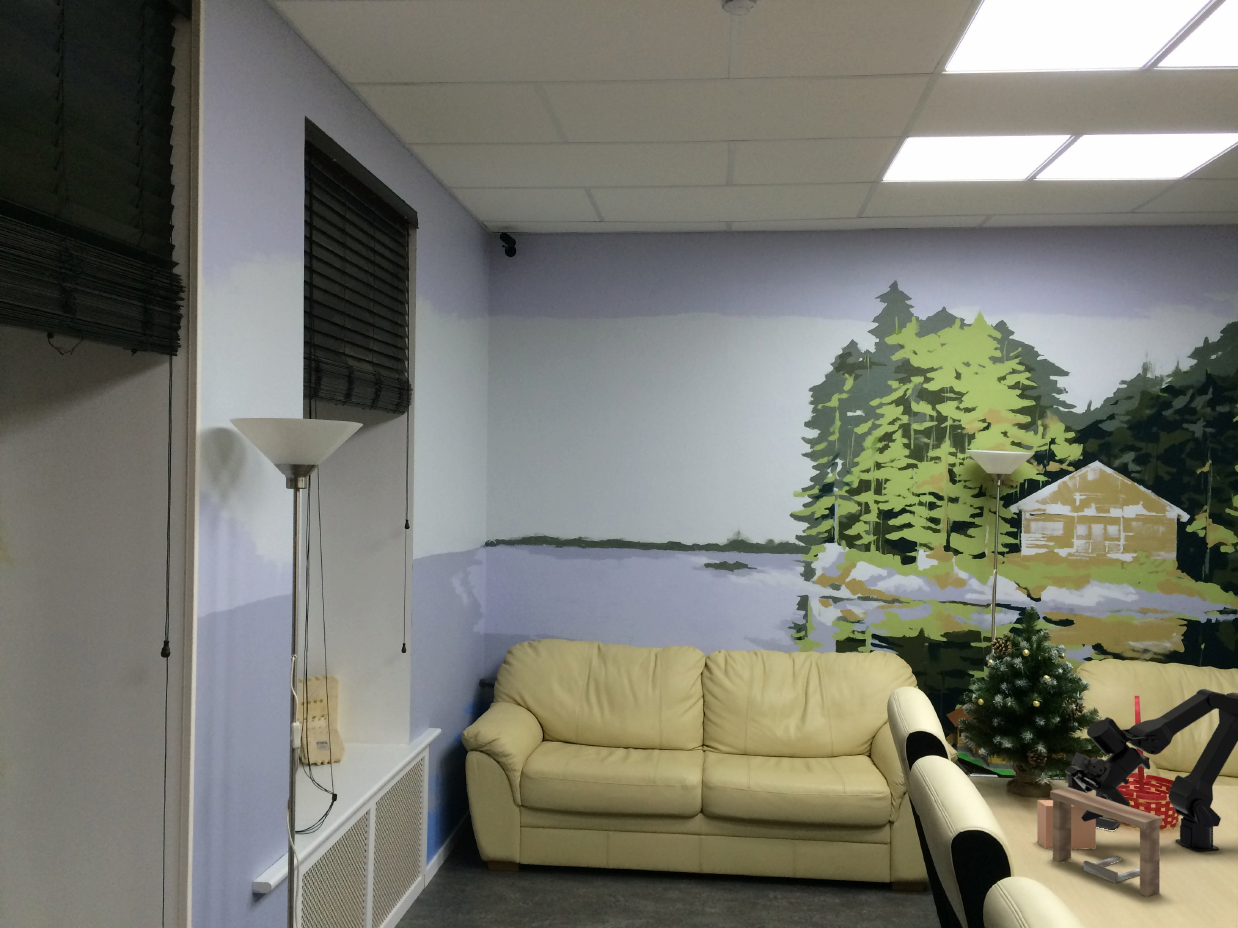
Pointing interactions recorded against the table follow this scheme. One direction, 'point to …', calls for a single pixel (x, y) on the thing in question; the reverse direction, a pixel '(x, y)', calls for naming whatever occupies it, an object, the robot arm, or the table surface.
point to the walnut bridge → (1115, 811)
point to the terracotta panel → (1080, 830)
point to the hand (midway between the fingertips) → (1072, 812)
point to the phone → (1107, 823)
